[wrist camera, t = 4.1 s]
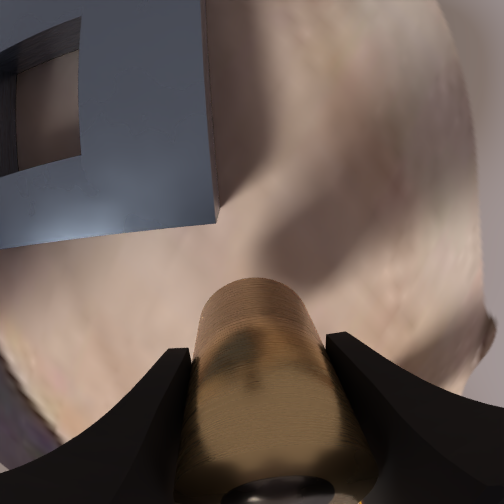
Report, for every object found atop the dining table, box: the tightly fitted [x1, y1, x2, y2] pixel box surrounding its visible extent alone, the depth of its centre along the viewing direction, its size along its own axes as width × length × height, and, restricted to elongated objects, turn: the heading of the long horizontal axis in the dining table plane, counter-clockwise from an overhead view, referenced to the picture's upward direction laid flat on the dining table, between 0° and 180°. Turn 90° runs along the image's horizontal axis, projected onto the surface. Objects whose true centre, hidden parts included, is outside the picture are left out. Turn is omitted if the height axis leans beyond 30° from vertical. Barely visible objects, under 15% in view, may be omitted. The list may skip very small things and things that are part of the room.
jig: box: [0, 0, 220, 249], centre depth 8 cm, size 14×16×4 cm
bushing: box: [173, 278, 379, 504], centre depth 8 cm, size 4×4×7 cm
